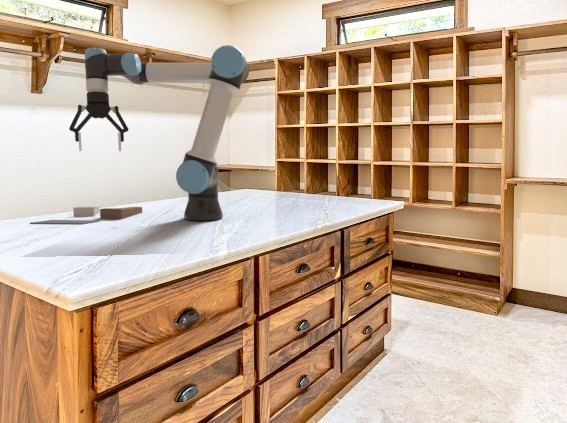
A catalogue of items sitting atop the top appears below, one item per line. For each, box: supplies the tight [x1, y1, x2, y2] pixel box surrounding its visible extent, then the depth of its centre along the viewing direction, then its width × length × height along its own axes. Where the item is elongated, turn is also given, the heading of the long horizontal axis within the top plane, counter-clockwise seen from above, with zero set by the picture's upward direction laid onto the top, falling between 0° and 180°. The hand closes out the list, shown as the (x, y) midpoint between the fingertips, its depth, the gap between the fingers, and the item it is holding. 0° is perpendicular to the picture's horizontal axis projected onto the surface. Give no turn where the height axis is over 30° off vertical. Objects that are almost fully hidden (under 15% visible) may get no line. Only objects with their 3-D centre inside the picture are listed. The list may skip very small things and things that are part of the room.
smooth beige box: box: [73, 205, 101, 217], centre depth 196 cm, size 8×8×5 cm
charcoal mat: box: [29, 219, 102, 225], centre depth 176 cm, size 20×13×1 cm, turn 83°
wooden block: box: [99, 206, 143, 220], centre depth 194 cm, size 9×4×18 cm
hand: (100, 150), depth 175 cm, fingers open, 13 cm apart
